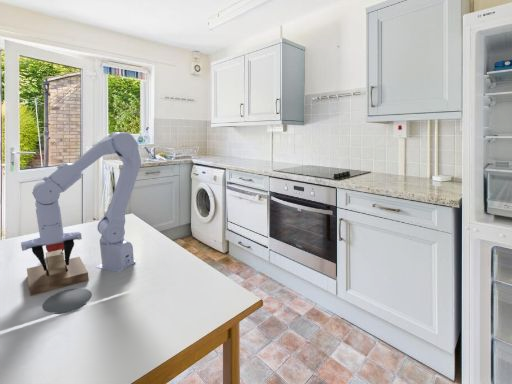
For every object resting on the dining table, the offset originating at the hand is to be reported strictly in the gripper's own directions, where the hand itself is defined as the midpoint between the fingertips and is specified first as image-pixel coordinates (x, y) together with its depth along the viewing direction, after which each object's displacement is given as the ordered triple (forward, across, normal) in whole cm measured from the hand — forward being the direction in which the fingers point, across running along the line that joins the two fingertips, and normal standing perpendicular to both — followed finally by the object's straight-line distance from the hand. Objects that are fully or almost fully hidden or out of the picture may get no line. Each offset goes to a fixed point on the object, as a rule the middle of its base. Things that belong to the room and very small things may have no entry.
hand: (56, 266), depth 89 cm
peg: (+4, 0, 0) cm, 4 cm away
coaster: (+4, -1, +15) cm, 16 cm away
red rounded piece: (+4, -2, -20) cm, 21 cm away
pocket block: (+4, 0, 0) cm, 4 cm away
